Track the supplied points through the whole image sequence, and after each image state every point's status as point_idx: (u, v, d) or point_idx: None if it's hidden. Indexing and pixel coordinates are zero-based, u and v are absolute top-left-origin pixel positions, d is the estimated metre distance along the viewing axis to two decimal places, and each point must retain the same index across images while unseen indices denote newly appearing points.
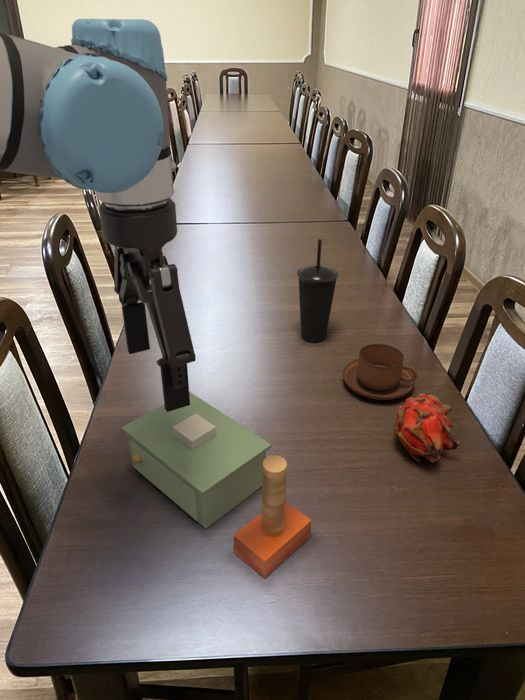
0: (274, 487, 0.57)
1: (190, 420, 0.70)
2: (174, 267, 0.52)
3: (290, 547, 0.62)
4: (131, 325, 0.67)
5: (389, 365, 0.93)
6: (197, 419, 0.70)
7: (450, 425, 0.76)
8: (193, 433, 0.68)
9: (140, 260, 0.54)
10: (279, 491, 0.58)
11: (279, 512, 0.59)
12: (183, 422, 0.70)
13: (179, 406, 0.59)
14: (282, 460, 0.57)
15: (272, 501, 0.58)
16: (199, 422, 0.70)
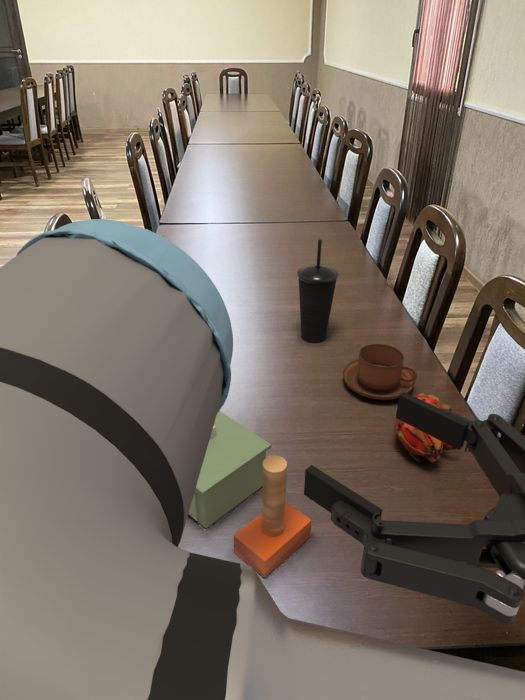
0: (274, 487, 0.57)
1: None
2: (509, 621, 0.34)
3: (290, 547, 0.62)
4: (437, 420, 0.48)
5: (389, 365, 0.93)
6: None
7: None
8: None
9: None
10: (279, 491, 0.58)
11: (279, 512, 0.59)
12: None
13: (307, 484, 0.42)
14: (282, 460, 0.57)
15: (272, 501, 0.58)
16: None
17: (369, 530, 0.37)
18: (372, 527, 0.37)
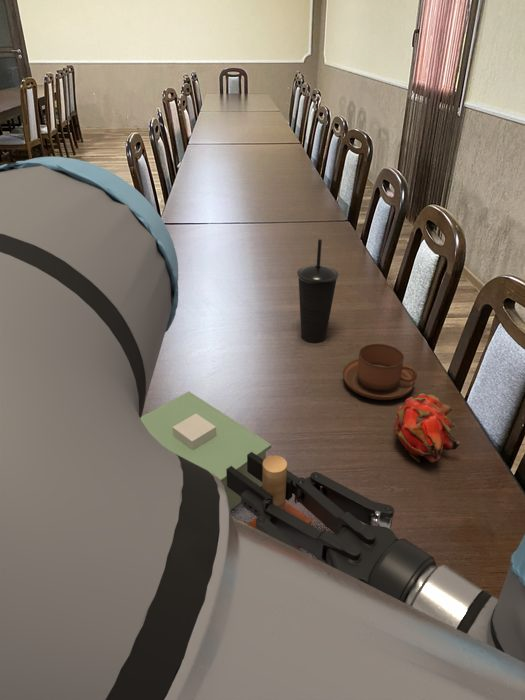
0: (274, 487, 0.57)
1: (190, 420, 0.70)
2: None
3: None
4: None
5: (389, 365, 0.93)
6: (197, 419, 0.70)
7: (450, 424, 0.76)
8: (193, 433, 0.68)
9: (355, 572, 0.50)
10: (279, 491, 0.58)
11: None
12: (183, 422, 0.70)
13: (228, 479, 0.61)
14: (282, 460, 0.57)
15: None
16: (199, 422, 0.70)
17: None
18: None
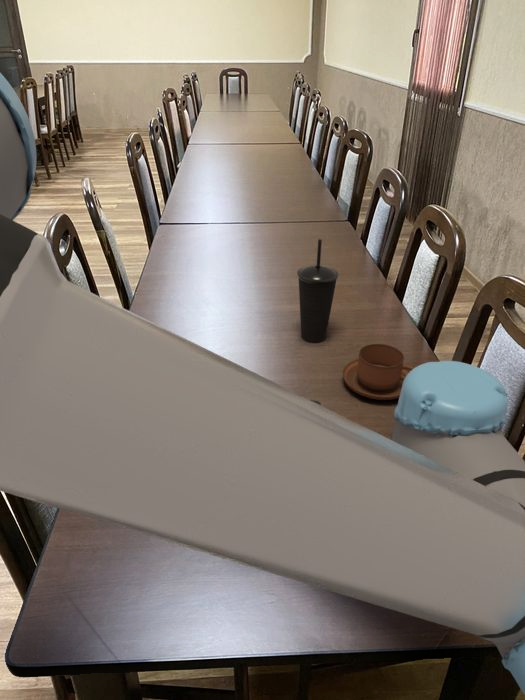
0: None
1: None
2: None
3: None
4: None
5: (389, 365, 0.93)
6: None
7: None
8: None
9: None
10: None
11: None
12: None
13: None
14: None
15: None
16: None
17: None
18: None
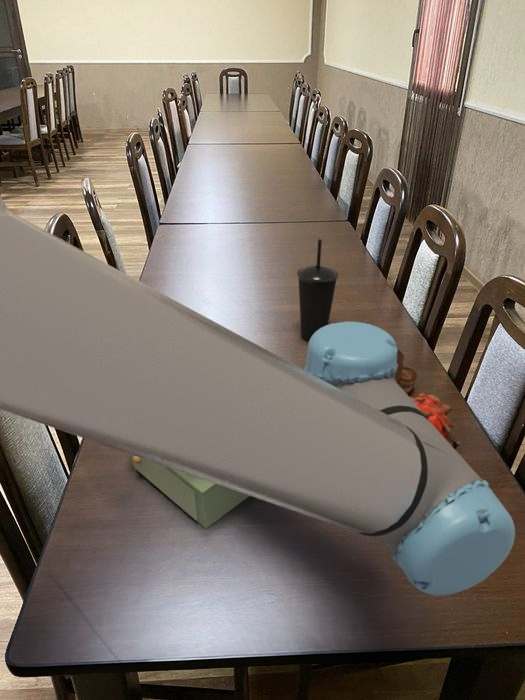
0: None
1: None
2: None
3: None
4: None
5: None
6: None
7: (450, 424, 0.76)
8: None
9: None
10: None
11: None
12: None
13: None
14: None
15: None
16: None
17: None
18: None
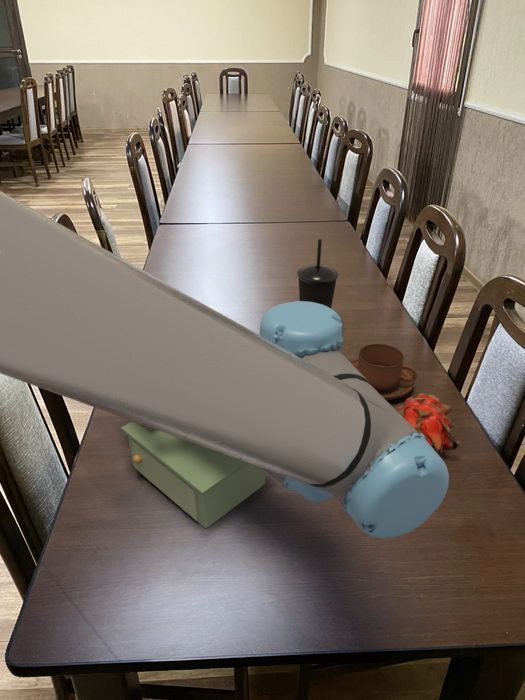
0: None
1: None
2: None
3: None
4: None
5: (389, 365, 0.93)
6: None
7: (450, 425, 0.76)
8: None
9: None
10: None
11: None
12: None
13: None
14: None
15: None
16: None
17: None
18: None
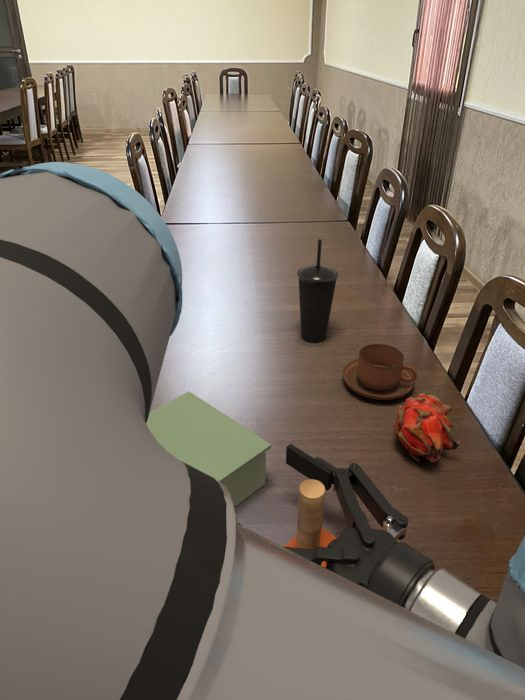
0: (311, 513, 0.54)
1: None
2: None
3: None
4: (312, 467, 0.63)
5: (389, 365, 0.93)
6: None
7: (450, 425, 0.76)
8: None
9: (354, 576, 0.50)
10: (316, 517, 0.55)
11: (315, 539, 0.56)
12: None
13: None
14: (319, 484, 0.55)
15: (309, 527, 0.55)
16: None
17: None
18: None
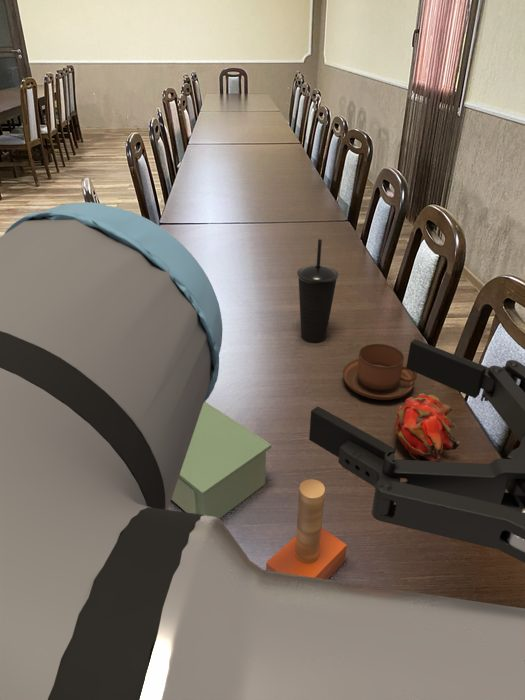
0: (311, 513, 0.54)
1: None
2: None
3: (326, 574, 0.59)
4: (452, 366, 0.45)
5: (389, 365, 0.93)
6: None
7: (450, 425, 0.76)
8: None
9: None
10: (316, 517, 0.55)
11: (315, 539, 0.56)
12: None
13: (312, 428, 0.39)
14: (319, 484, 0.55)
15: (309, 527, 0.55)
16: None
17: (381, 470, 0.34)
18: (384, 466, 0.34)
